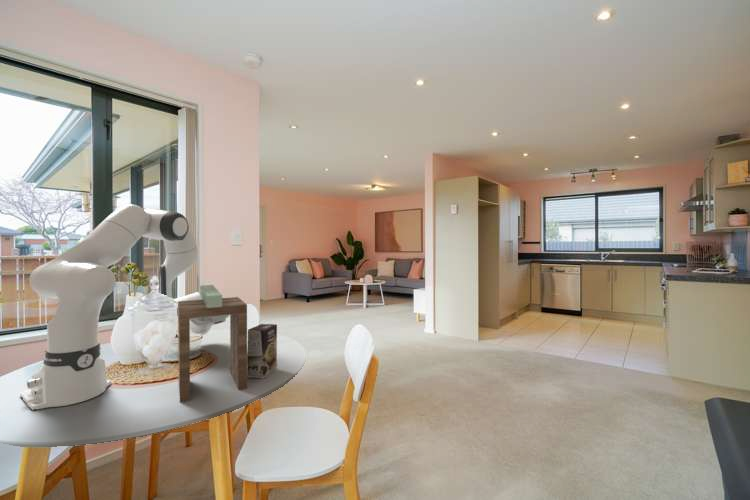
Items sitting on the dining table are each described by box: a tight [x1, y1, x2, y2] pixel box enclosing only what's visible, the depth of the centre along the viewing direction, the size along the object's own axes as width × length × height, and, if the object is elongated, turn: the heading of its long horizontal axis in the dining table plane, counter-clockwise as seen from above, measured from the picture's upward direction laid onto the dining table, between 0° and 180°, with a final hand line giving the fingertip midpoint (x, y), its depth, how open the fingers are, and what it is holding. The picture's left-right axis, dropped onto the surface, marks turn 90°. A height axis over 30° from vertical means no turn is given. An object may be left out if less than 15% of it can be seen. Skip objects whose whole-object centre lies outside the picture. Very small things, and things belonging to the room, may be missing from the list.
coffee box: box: [247, 323, 278, 380], centre depth 117 cm, size 9×6×16 cm
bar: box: [199, 284, 223, 308], centre depth 111 cm, size 26×4×4 cm, turn 31°
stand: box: [177, 296, 248, 403], centre depth 107 cm, size 16×18×26 cm
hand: (204, 304), depth 127 cm, fingers open, 8 cm apart
